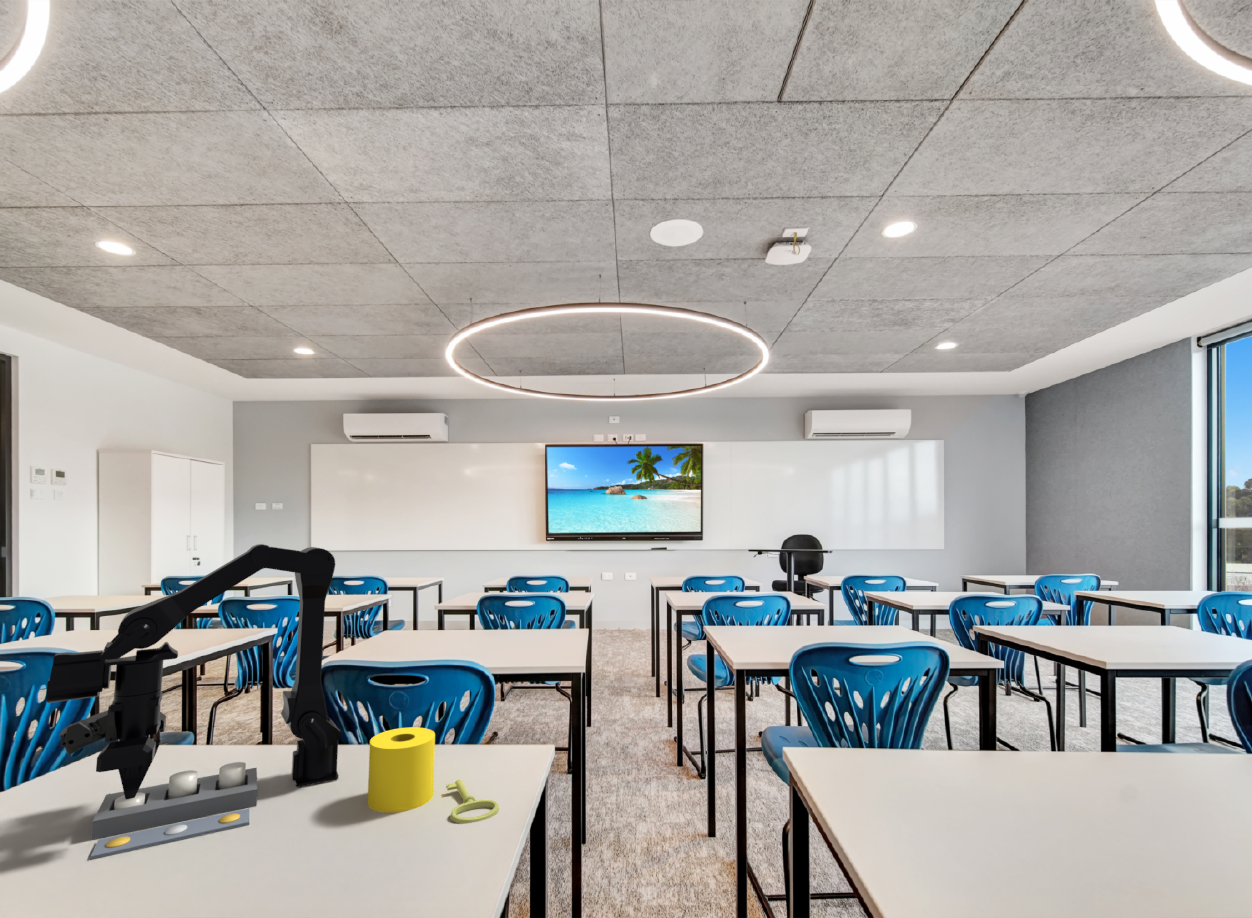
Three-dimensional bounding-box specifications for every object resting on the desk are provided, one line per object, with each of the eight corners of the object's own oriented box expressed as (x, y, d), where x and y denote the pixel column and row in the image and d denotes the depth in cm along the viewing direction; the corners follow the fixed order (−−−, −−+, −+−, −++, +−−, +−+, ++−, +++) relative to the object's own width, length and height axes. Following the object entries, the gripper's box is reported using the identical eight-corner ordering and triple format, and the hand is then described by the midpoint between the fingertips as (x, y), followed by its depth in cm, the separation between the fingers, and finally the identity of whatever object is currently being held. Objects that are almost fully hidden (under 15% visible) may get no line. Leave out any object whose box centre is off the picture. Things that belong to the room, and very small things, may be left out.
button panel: (255, 782, 106) (256, 767, 106) (256, 805, 98) (257, 789, 98) (105, 811, 96) (106, 794, 96) (91, 839, 87) (92, 821, 87)
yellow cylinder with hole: (353, 806, 97) (355, 743, 98) (398, 781, 107) (400, 724, 108) (403, 817, 94) (405, 752, 95) (446, 790, 103) (447, 731, 104)
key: (459, 790, 104) (459, 777, 104) (504, 814, 96) (505, 799, 96) (420, 805, 98) (420, 791, 99) (464, 832, 90) (465, 816, 90)
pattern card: (249, 811, 96) (249, 806, 96) (249, 824, 91) (249, 820, 92) (98, 842, 86) (98, 838, 86) (90, 859, 82) (90, 854, 82)
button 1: (145, 810, 96) (146, 790, 96) (141, 820, 93) (143, 799, 93) (115, 816, 94) (116, 795, 94) (110, 826, 91) (112, 805, 91)
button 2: (244, 779, 103) (245, 760, 103) (244, 787, 100) (245, 767, 100) (218, 784, 101) (219, 764, 101) (217, 792, 98) (219, 772, 98)
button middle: (197, 788, 99) (198, 768, 100) (195, 796, 96) (196, 776, 96) (169, 793, 97) (170, 773, 98) (166, 802, 94) (168, 781, 95)
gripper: (83, 684, 99) (74, 787, 97) (51, 716, 83) (41, 839, 81) (169, 675, 105) (162, 772, 103) (155, 703, 89) (147, 818, 87)
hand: (130, 798), depth 94 cm, fingers closed, pressing on button 1
